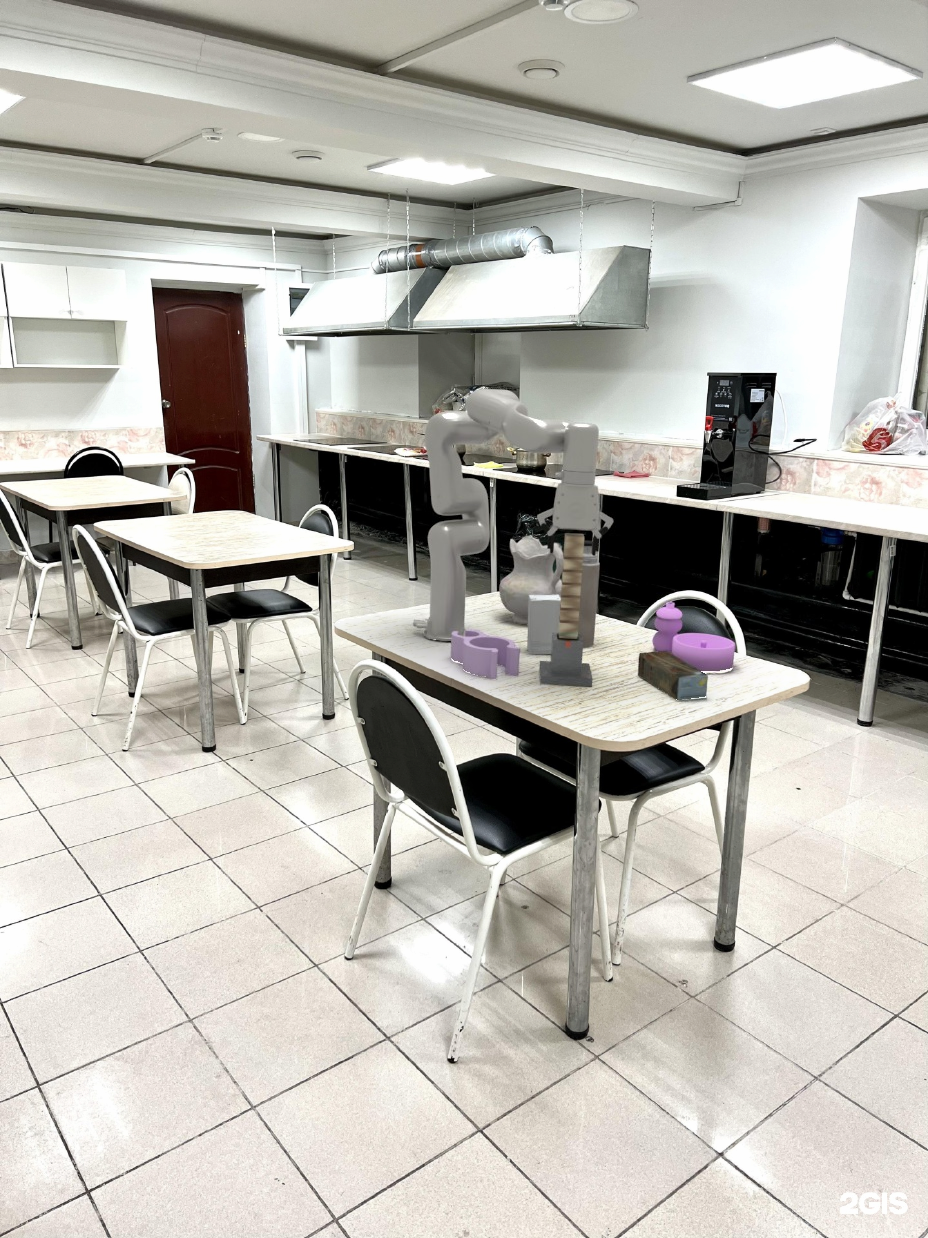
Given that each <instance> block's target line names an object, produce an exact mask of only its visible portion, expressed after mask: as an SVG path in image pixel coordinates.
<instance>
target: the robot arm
mask: <svg viewBox="0 0 928 1238" xmlns="http://www.w3.org/2000/svg"><path fill="white" fill-rule="evenodd" d="M464 408H465V409H464V410H465V411H463V410H447V411H442V412H438V413H436V414H434V415H433V416H431V417H430V419H429V420H428V422H427V424H426V426H425V430H424V444H425V449H426V454H427V457H428V459H427V460H428V464H429V466H428V467H429V481H430V482H429V483H430V496H431V498H430V499H431V506H432V509H433V511H434V512H435V513H436V514H437V515H441V516H458V515H461V517H462V519H452V520H444V521H439V522H437V523H435V524H434V525H433V526H432V527H431V528H430V529H429V531H428V535H427V543H428V550H429V557H430V593H429V594H430V597H429V617H428V618H425V619H424V620H421V619H413V624H412V626H413V627H414V628H415V627H416V629H424V630H423V634H424V635H423V637H424V636H426V637H427V638H426V637H425V638H426V639H428V638H430V639H436V640H441V641H440V642H442V641H451V637H452V632H453V631H457V632H458V635H460V636H465V630H466V628H465V620H466V619H465V618H466V617H465V615H466V614H465V613H466V589H467V588H466V587H467V571H466V568H465V565H464V563H463V561H462V557H461V556H468V555H474V554H479V553H483V552H484V551H485V550H486V549H487V547H488V546H489V542H490V538H491V537H490V534H491V533H490V530H491V529H490V513H489V511H490V510H489V509H490V508H489V499H488V498H489V496H488V493H487V489H486V488H485V486H484V484H483V483H482V482H481V481H480V480H478V479H475V478H473V477H472V478H468V477H467V478H465V477H463V472H462V471H463V464H462V461H461V458H460V455H459V453H458V451H457V450H456V448H454V446H455V445H483V444H486V443H488V442H490V441H492V440H493V439H494V438H495V437H497V436H498V435H500V434H503V437H504V438H505V439H506V441H507V442H508V443H509V444H510V445H512V446H514V447H516V448H519V449H521V450H522V451H523V450H524V451H526V452H529V453H531V454H563V455H562V467H561V471H558V472H555V474H554V476H555V477H554V479H558V480H560V481H561V482H560V483H558V484H557V487H556V490H555V497H554V503H553V507H552V508H550V509H547V510H546V511H543V512H541V513H539V514H537V516H536V519H537V520H538V522H539V525H540V527H541V529H542V530H543V531H544V532H545V533H546V534H547V544H546V546H547V549H550V553H553V551H554V543H555V533H556V531H558V529H561V530H573V531H574V530H575V531H591V532H592V534H593V537H592V540H591V541H592V555H593V556H595V555H596V554H597V553H598V552H600V539H601V538H602V537H603V536H604V535H605V534H607V533H608V532H609V529H610V528H611V526H612V525H613V523H614V519H613V518H612V517H610V516H608V515H607V514H605V513H604V512H601V511H600V510H599V508H600V507H599V506H600V505H599V504H600V498H599V497H600V495H599V487H598V485H596V484H595V482H596V481H595V480H596V470H597V461H598V460H597V459H598V458H597V457H598V449H599V448H598V445H599V431H600V430H599V427H598V425H596V424H594V423H591V422H590V423H589V422H575V421H573V420H567V419H537V418H533V417H530V416H529V412H528V408H527V406H526V405H525V404H524V403H523V402H522V401H520V399H519V397H518V396H517V394H515V393H514V392H513V391H511V390H507V389H497V388H496V389H493V388H492V389H491V388H481V389H477V390H475V391H473V392H471V393H470V394H469V395H468V396H467V398H466V400H465V404H464ZM551 516H552V525H550V527H549V525H548V524H547V523H546V520H545V519H546V518H548V517H551ZM599 519H601V520H603V521H604V522H605V523H604V525H603V526H602V527H601V528H599V529H598V525H599V524H598V523H599ZM430 639H429V640H430Z"/></svg>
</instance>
